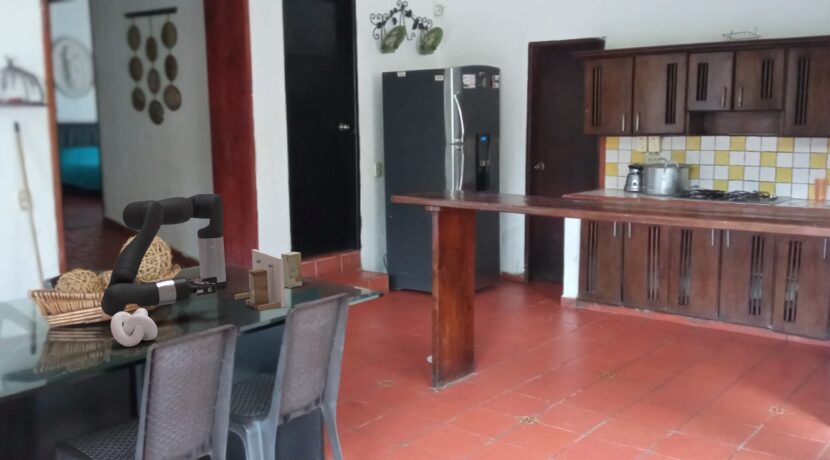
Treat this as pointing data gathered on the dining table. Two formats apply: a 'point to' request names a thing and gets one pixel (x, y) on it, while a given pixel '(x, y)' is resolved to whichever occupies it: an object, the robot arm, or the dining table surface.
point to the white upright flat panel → (269, 279)
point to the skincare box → (292, 269)
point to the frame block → (258, 287)
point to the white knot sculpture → (133, 327)
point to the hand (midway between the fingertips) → (221, 282)
